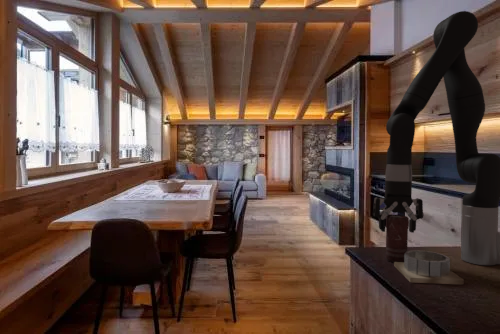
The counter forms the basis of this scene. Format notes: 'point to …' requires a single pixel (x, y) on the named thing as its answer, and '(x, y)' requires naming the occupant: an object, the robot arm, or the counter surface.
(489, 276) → the counter surface
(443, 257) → the collar
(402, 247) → the can
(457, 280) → the stand
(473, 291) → the counter surface
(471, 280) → the counter surface
